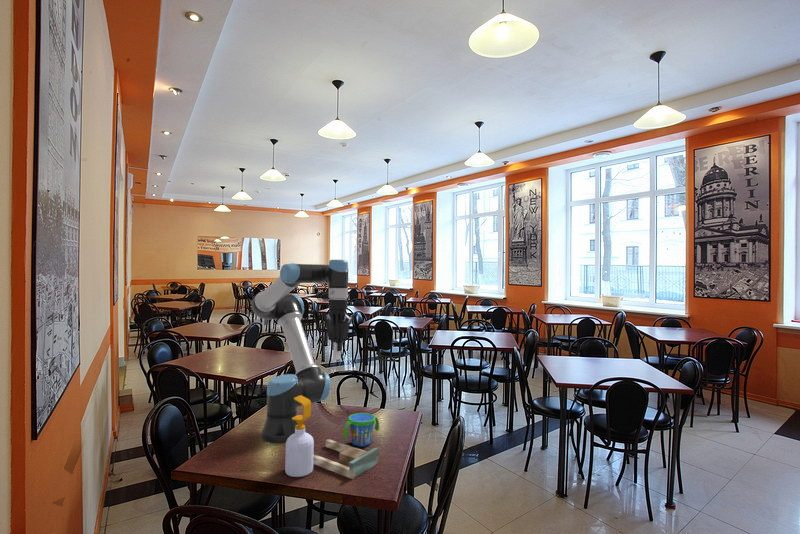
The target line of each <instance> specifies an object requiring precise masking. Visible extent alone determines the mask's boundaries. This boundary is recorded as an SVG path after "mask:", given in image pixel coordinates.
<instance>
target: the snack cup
mask: <svg viewBox="0 0 800 534" xmlns="http://www.w3.org/2000/svg"><path fill="white" fill-rule="evenodd" d="M348 428H349V432H350V439H351V443H352V445H353V446H356V447H366V446H368V445H371V443H372V439H373V433H374V430H375V431H377V432H378V431H379V430H380V423H379V419H378V417H377V416H375V415H374V414H372V413H367V412H358V413H357V412H356V413H352V414H350V415H349V416H348V420H347V422H346V423H345V424H344V428H343V432H342V436H343V438H344V440H348Z"/></svg>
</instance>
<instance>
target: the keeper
mask: <svg viewBox="0 0 800 534" xmlns="http://www.w3.org/2000/svg"><path fill="white" fill-rule="evenodd" d="M352 447H353V446H351V447H349V448H348V449H346V450H344V451H342V452H339V454H338V461H339V462H338V463H339V464H342V465H345V466H348V467H349V462H351V461H353V460H354V459H356V458H358V457H359V456H361V455H363V454H365V453H366V452H365V451H366V450H364V451H362V450H363V449H361V450H359V449H360V448H358V449H355V448H356V447H354V448H352Z"/></svg>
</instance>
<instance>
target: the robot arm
mask: <svg viewBox="0 0 800 534" xmlns="http://www.w3.org/2000/svg"><path fill="white" fill-rule="evenodd" d="M300 284H328V300H327V301H328V302H327V303H328V304H327V306H328V307H327V308H328V309H329V310H328V314H327V315H324V316H323V319H324V322H325V327H326V333H327V339H328V341H331V344H332V346H331V350H332V351H333V352H332V355H333V356H332V357H333V358H332V359H333V360H335V361H337V360H340V359H341V357H342V351H343V343H344V342H347V339H348V334H349V330H350V326H351V323H352V320H353V317H351V316H349V315H348V311H347V310H348V303H349V302H348V297H349V287H348V286H349V262H348V260H347V259H330V260H329V262H328V264H320V263H319V264H306V263H285V264H283V265H282V266H281V267H280V270H279V276H278V277H277V278H276V279H275V280H274V281H273V282H272V283H271V284H270V285H268V286H267V287H266V289H264V291H262V290H261V291H260V292H258V293H257V294H256V295H255V296H254V297H253V299H252V300H251V310H252V312H253V313H254V315H255V316H257V317H258V318H259V319H263V320H269V321H270V320H276V322H277V325H278V326H279V327H281V328H282V331H283V335H284V337H285V340H286V344H287V347H288V349H289V353H290V356H291V360H292V362H293V365H294V369H295V374H292V373H287V374H280V375H278V376H275V377H273V378H271V379H270V380H268V383H267V388H266V417H265V422H264V424H263V428H262V430H261V439H262V440H263V441H265V442H268V443H275V444H278V443H286V441H287V439H288V438H289V437H290V436H291V435H292V434H294V433H295V426H296V425H298V423H297V422H296V420H292V418H293V417H295V416H297V415H298V414H297V411H298V410H297V407H301V406H302V404H300V403H299V402H297V401H295V400H294V398H295V397H297V396H299V395H302V396H304V397H306V398H307V399H309V400H310V401H311V404H315V403H319V402H322V401H326V400H327V398H328V397H329V395H330V393H331V392H330V391H331V387H332V385H331V377H330V375H329V374H328V373H327V372H323V371H322V369H321V367H320V366H319V365H318V364H317V365H316V363H315V360H314V357H313V355H312V352H311V348H310V345H309V343H308V340H307V336H306V334H305V333H306V332H305V330H304V327H303V324H302V322H301V320H302V319H303V315H304V313H305V308H304V307H305V305H304V301H303V299H302V298H301V296H299V294H296V293H290V292H292V291H293V290H294V289H296V288H297V287H298V286H299V285H300ZM302 407H303V406H302Z"/></svg>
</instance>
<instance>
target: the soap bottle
mask: <svg viewBox="0 0 800 534" xmlns="http://www.w3.org/2000/svg"><path fill="white" fill-rule="evenodd" d="M294 400H295V401H297V402H299V403H300V404H302V414H297V416H295V417H293V418H292V420H296V422H297V423H298V425H296V426H295V433H294V434H292V435H291V436H290V437H289V438H288V439H287V441H286V442H285V459H284V461H285V463H284V465H285V466H284V467H285V468H284V470H285V474H286V475H287V476H288V477H292V478H300V477H305V476H308V475H310V474H312V472H313V471H314V464H313V455H314V452H315V451H314V449H315V448H314V447H315V443H314V442H315V440H314V437H313V436H312V435H311V434H310V433H308V432H306V424H304V423H305V421H306V420H308V419H309V418H311V416H312V403H311V401H310V400H309V399H307V398H306V397H304V396H302V395H299V396H297V397H295V398H294Z"/></svg>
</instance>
